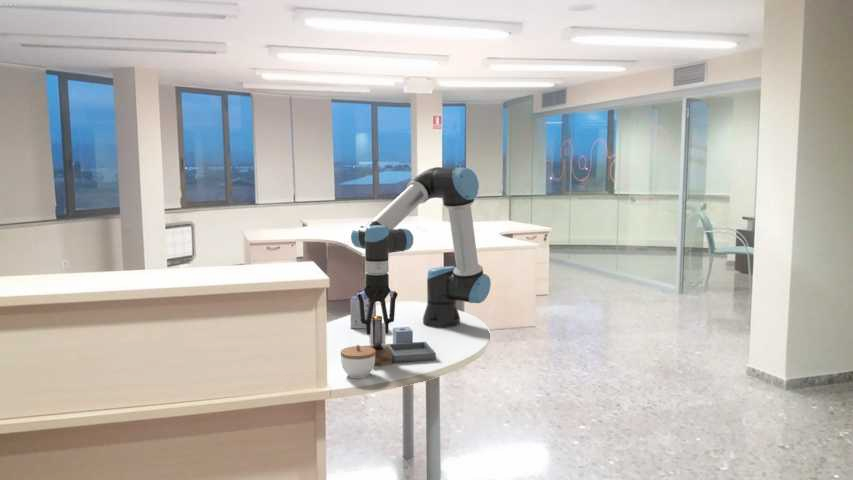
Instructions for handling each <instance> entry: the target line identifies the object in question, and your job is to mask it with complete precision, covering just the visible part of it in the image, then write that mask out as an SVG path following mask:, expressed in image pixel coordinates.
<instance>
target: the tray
mask: <svg viewBox="0 0 853 480" xmlns="http://www.w3.org/2000/svg"><path fill="white" fill-rule="evenodd" d="M386 344H387V345H388V346H389V348H390V349H391V351H392V362H393V364H399V363H400V364H402V363H414V362H415V363H416V362H429V361H436V358H437V357H436V354H437V353H436V352H435V350H434V349H433V348H432V347H431V346H430V345H429V344H428V342H427V341H418V342H417V341H415V342H414V341H413V342H412V343H397V344H393V343H386Z"/></svg>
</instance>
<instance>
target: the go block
mask: <svg viewBox="0 0 853 480" xmlns="http://www.w3.org/2000/svg"><path fill="white" fill-rule="evenodd" d="M387 344H388V343H385V344H383V343H382V350H376V354H375V364H374V367H375V366H376V367H377V366H386V365H393V363H392V362H393V361H392V351H391V349H390V348H389V346H388V345H387ZM366 346H367V347H371V348H373V345H366Z"/></svg>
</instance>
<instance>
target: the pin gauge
mask: <svg viewBox="0 0 853 480" xmlns="http://www.w3.org/2000/svg"><path fill="white" fill-rule="evenodd" d="M382 323H383V315H376V316H373V348H374V349H375V350H382V345H383V343H382Z"/></svg>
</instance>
